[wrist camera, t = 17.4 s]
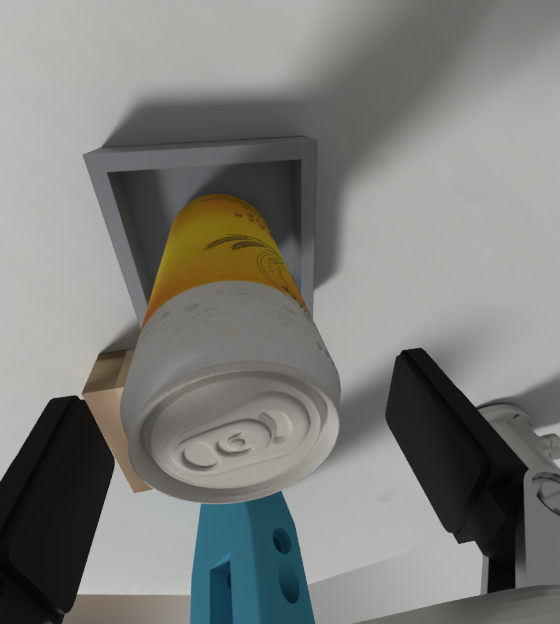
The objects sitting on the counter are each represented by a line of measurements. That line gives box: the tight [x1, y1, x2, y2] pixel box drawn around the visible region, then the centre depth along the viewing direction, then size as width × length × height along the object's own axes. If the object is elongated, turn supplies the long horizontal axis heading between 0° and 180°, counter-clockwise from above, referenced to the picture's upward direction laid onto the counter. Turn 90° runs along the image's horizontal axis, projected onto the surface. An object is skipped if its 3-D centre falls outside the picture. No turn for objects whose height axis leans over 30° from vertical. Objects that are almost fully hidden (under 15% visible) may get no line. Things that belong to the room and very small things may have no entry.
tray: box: [83, 136, 317, 328], centre depth 20 cm, size 11×11×3 cm
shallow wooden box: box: [82, 349, 153, 493], centre depth 27 cm, size 12×12×4 cm
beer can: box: [120, 194, 341, 504], centre depth 14 cm, size 6×6×15 cm
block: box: [190, 491, 315, 624], centre depth 28 cm, size 12×5×20 cm, turn 144°
